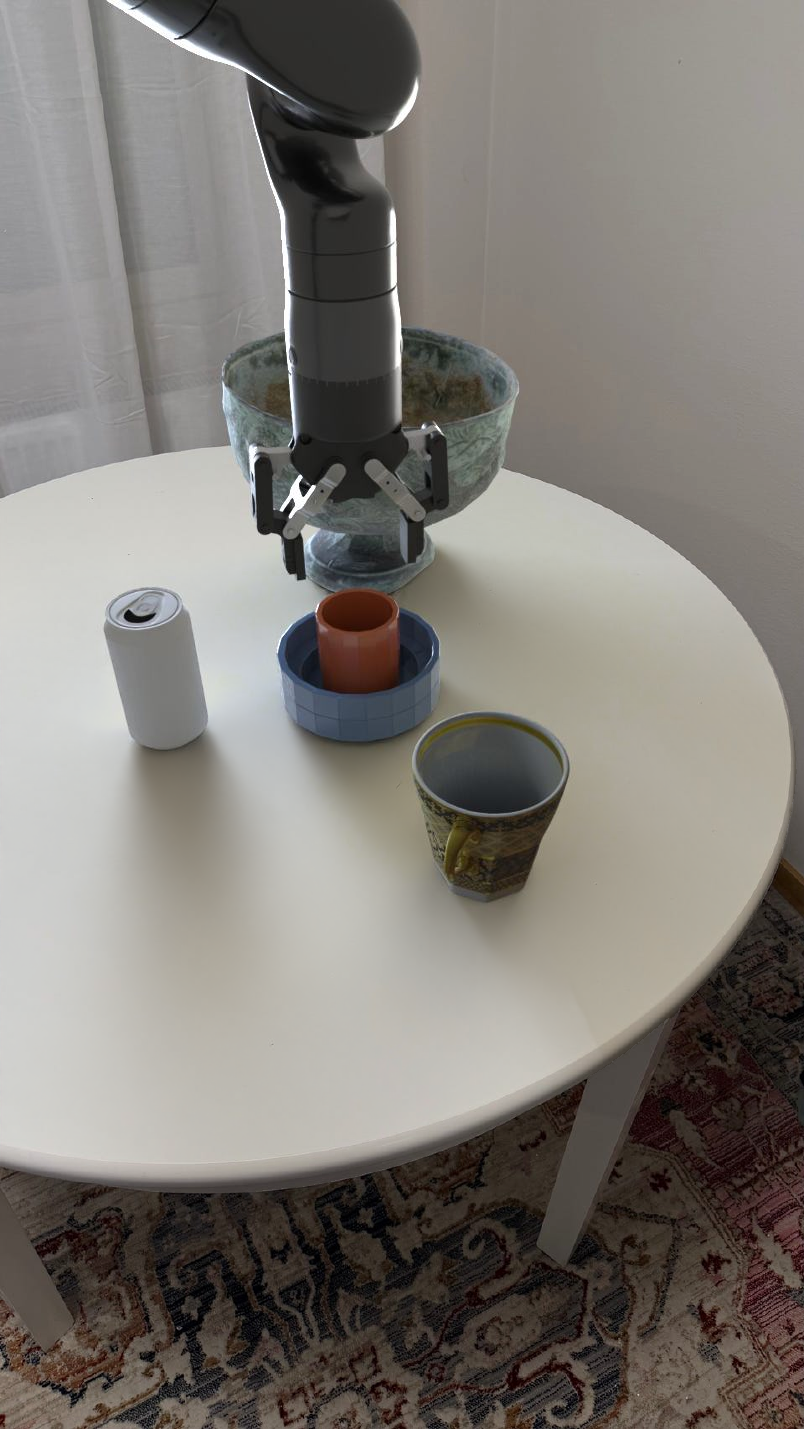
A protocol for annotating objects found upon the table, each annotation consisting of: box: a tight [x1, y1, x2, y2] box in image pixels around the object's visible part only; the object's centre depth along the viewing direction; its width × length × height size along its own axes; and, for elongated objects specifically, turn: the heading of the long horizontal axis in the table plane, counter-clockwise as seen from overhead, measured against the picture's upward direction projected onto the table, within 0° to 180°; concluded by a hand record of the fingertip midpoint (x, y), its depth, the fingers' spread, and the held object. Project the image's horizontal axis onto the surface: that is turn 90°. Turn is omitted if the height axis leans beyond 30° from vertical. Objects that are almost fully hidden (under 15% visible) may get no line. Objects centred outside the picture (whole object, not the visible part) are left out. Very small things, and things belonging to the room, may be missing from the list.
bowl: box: [276, 606, 441, 742], centre depth 83 cm, size 13×13×5 cm
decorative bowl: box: [221, 324, 520, 594], centre depth 95 cm, size 26×26×20 cm
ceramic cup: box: [411, 710, 571, 903], centre depth 66 cm, size 13×10×10 cm
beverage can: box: [102, 586, 209, 751], centre depth 78 cm, size 6×6×12 cm
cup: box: [315, 588, 400, 694], centre depth 82 cm, size 6×6×8 cm
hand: (354, 566), depth 77 cm, fingers open, 8 cm apart
